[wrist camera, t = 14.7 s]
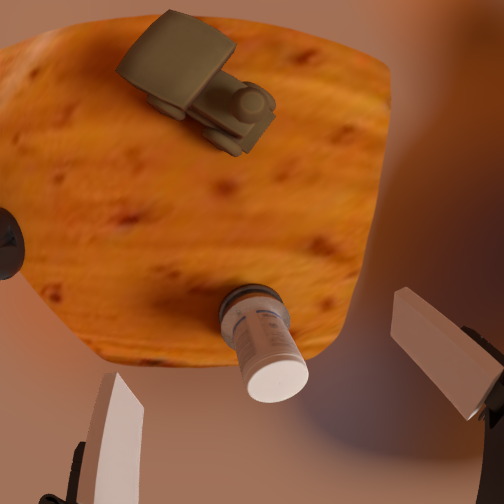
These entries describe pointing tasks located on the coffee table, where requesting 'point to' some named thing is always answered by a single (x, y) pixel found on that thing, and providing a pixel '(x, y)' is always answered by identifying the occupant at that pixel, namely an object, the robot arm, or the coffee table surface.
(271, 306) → the duct stub
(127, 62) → the wooden toy train
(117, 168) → the coffee table surface
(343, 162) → the coffee table surface
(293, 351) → the supplement tub
